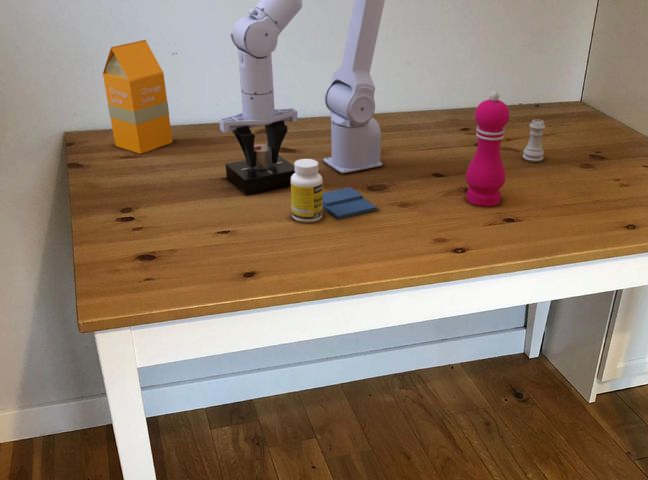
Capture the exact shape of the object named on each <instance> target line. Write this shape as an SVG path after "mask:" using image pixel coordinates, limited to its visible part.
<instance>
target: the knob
mask: <svg viewBox="0 0 648 480" xmlns="http://www.w3.org/2000/svg"><path fill="white" fill-rule="evenodd" d="M254 159H255V167H254V168H253V169H256V170H267V169H271V168H272V167H273V158H272V147H271V146H270V145H268V144H266V143H257V144H254Z"/></svg>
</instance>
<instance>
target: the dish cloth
mask: <svg viewBox="0 0 648 480" xmlns="http://www.w3.org/2000/svg"><path fill="white" fill-rule="evenodd" d="M323 210H325V211H326V212H327V213H328V214H329V215H331V216H332V217H334V218H335V219H336V220H340V219H341V220H342V219H346V218H350V217H355V216H359V215H362V214H367V213H371V212H376V211H377V206H376V205H374V204H373V203H372V202H370V201H368V200H367V199H366V198H364V195H363V194H362V193H360V192H359V191H358V190H355V188H353V187H351V186H348V187H343V188H339V189H335V190H329V191H325V192H323Z"/></svg>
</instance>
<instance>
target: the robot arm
mask: <svg viewBox="0 0 648 480" xmlns="http://www.w3.org/2000/svg"><path fill="white" fill-rule="evenodd" d="M385 1H386V0H353V3H352V10H351V14H350V20H349V25H348V29H347V35H346V41H345V45H344V50H343V56H342V59H341V60H342V61H341V66H340V67H339V68H337V69H336V70H335V71H334V72H333V73H332V77H331V80H330V83H329V85H328V86H327V87H326V90H325V91H324V96H323V99H324V100H323V101H324V105H325V107H326V108H327V109H328V111H330V138H331V139H330V140H331V141H330V143H331V145H330V146H331V157H330V156H329V157H325V158H323V159H322V161H323V163H325V164H326V165H328V166H330V167H331V168H333V169H334V170H336V171H337V172H339V173H340V174H349V173H354V172H358V171H359V172H360V171H362V170H369V169H372V168H373V169H374V168H378V167H382V166H383V162H382V161H381V147H382V146H381V145H382V133H381V128H380V127H381V126H380V124H379V122H378V121H377V120H376V119H375V118H374V117H373V116H374V114H375V111H376V101H375V93H376V86H375V83H374V81H373V78H372V76H371V69H372V65H373V59H374V53H375V49H376V45H377V39H378V34H379V31H380V25H381V20H382V16H383V11H384V7H385ZM302 8H303V0H259V2H258V3H257V4H256V5H255V7H254V8H253V7H251V8H250V9H249V10H248V15H245V16H242V17H240V18H239V19H237V21H236V22H235V24H234V25H233V30H232V32H231V33H230V39H231V42H232V44H233V46H235V47H236V48H237V53H238V54H237V57H238V71H239V85H240V95H241V107H242V108H241V109H242V112H241V113H238V114H235V115H231V116H228V117H224V118H219V119H218V123H219V130H220V131H221V132H222V133H224V134H226V133H230V132H232V133H233V135H234V136H235V139H236V140H237V142H238V143H239V146H240V147H241V150H242V153H243V156H244V159H245V160H246V163H247V165H248V166H249V167H250V168H254V167H255V159H254V145H255V139H256V135H255V134H254V133H253V132H252V130H251V129H250V128H257V127H263V126H264V128H265V134H266V140H267V145H270V146H271V147H272V158H273V164H276V163H277V160H278V155H280V151H281V147H282V144H283V141H284V139H285V136H286V135H287V133H288V129H289V128H288V126H287V125H286V124H285V123H289V122H292V123H296V122H298V120H299V119H298V110H297V109H295V108H293V107H291V108H277V109H275V92H274V91H275V90H274V74H273V59H272V53H273V52H274V51H275V50H276V49H277V47H278V38H279V35H281V33H282V32H283V30H284V29H286V28H287V26H288V25H289V23H290V22H291V21H292V20H293V19H294V17H295V16H297V14H298V13H299V12H300V11H301V10H302Z"/></svg>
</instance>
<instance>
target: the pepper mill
mask: <svg viewBox="0 0 648 480" xmlns="http://www.w3.org/2000/svg"><path fill="white" fill-rule="evenodd" d="M499 99H500V93H499V91H497V90H492V91H491V92H490V93H489V95H488V99H486V100H485V99H484V100H483V101H481V102H480V103H479V104H478V106H477V107H476V108H475V113H474V120H475V122H476V123H477V125H478V126H477V127H476V133H475V135H476V137H477V149H476V151H475V155H474V157H473V158H472V160H471V162H470V163H469V166H468V167H467V170H466V174H465V182H466V183H467V185H468V186H469V187H468V188H467V190H466V201H467V202H468V203H470V204H472V205H475V206H478V207H494V206H497V205H498V204H499V203H500V202H501V197H502V192H501V188H502V187H504V185H505V183H506V171H505V170H506V169H505V166H504V163H503V160H502V156H501V142H502V140H503V139H504V138H505V132H506V130H505V127H506V126H507V124H508V122H509V121H510V109H509V107H508V105H507V104H506V103H505V102H504V101H502V100H499Z"/></svg>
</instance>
